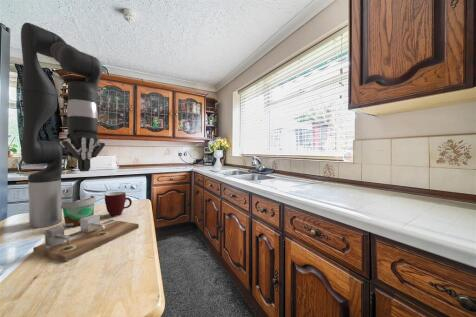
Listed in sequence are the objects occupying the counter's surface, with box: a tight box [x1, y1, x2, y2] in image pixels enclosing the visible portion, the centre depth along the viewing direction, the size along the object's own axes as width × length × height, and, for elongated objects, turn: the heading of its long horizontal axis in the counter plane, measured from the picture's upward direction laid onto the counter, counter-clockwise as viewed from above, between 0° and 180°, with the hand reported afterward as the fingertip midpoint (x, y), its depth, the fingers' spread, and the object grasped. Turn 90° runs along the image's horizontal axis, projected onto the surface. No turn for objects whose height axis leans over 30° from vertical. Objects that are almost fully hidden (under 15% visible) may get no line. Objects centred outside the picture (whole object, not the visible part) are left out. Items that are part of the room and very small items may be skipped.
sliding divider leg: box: [79, 214, 104, 232], centre depth 65 cm, size 8×4×4 cm, turn 72°
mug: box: [104, 191, 133, 217], centre depth 88 cm, size 11×8×10 cm
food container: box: [61, 195, 97, 228], centre depth 77 cm, size 12×6×10 cm, turn 168°
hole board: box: [32, 219, 140, 263], centre depth 64 cm, size 14×24×6 cm, turn 162°
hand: (84, 171), depth 61 cm, fingers closed
